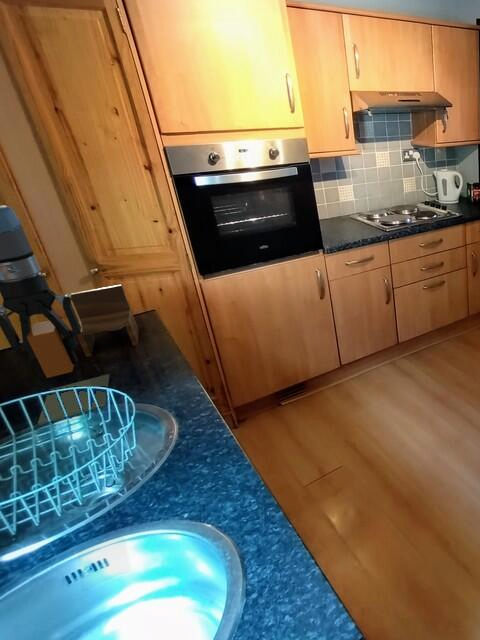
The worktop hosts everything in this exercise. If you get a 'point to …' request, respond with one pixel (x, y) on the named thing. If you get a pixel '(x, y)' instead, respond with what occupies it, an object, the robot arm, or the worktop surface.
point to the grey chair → (103, 314)
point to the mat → (74, 400)
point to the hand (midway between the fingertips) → (60, 364)
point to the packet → (49, 349)
